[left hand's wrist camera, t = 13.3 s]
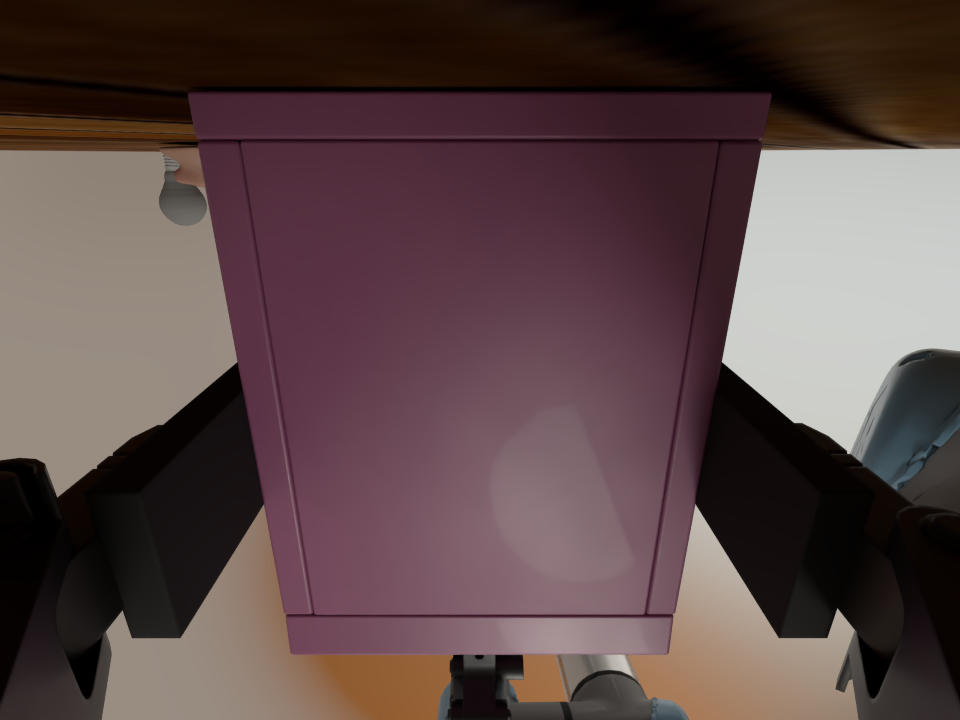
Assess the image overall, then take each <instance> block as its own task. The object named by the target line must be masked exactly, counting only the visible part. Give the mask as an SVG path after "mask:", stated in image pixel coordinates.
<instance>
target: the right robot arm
mask: <svg viewBox="0 0 960 720" xmlns="http://www.w3.org/2000/svg"><path fill="white" fill-rule="evenodd" d="M556 659H557V663H558V667H559V671H560V675H561V679H562V683H563V687H564V691H565V695H566V700H567V702H521V703H519V701H518V699H517V697H516V693H515V690H514V688H513V686H512V685H511V683H510V682H509V680H523V676H524V672H523V655H453V658H452V660H450V673H451V678H452V679H451V682H450V683H449V684H448V685H447V687H446V688H445V689H444V691H443V693H442V695H441V698H440V703H439V709H438V718H437V720H689V719H688V717H687V715H686V713H685V712H684V710H683V709H682V708H681V707H680V706H679V705H677V704H676V703H675V702H673V701H670V700H663V699H657V698H656V697H653V698H652V699H651V700H648V699H647V697H646V695H645V693H644V691H643V689H642V687H641V685H640V682H639V680H638V678H637V676H636V673H635V671H634V669H633V667H632V664H631V662H630V660H629V657H628V655H556Z"/></svg>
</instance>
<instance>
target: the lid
mask: <svg viewBox="0 0 960 720" xmlns="http://www.w3.org/2000/svg"><path fill="white" fill-rule="evenodd" d="M286 622H287V630H288V637H289V645H290V652H291V654H293V655H666V654H668V653H669V647H670V639H671V631H672V624H673V614H647V613H646V611H645V614H644V615H316V614H314V611H313V613H312V614H286Z"/></svg>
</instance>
